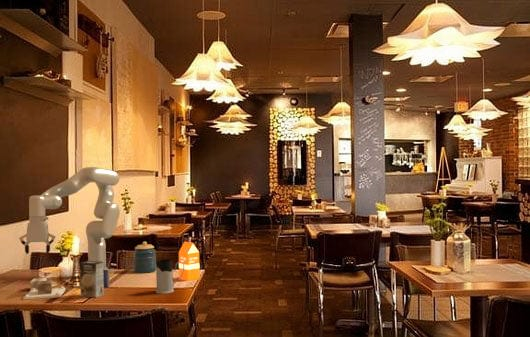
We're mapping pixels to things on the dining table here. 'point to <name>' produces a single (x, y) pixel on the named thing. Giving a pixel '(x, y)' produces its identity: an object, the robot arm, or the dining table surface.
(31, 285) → the ash brick
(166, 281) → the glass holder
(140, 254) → the canister
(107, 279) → the flask
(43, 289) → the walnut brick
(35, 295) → the baseplate
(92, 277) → the coffee box
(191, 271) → the orange juice
